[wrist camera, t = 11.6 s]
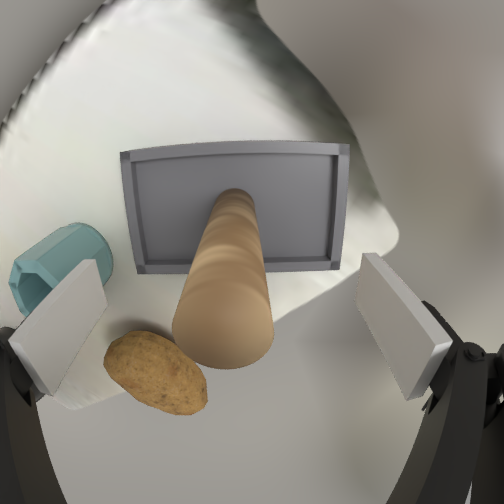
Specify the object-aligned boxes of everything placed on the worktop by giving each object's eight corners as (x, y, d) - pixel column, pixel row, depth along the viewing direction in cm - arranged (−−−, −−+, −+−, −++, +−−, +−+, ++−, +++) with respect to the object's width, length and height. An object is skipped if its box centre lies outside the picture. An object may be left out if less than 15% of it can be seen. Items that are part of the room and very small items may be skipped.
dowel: (215, 227, 26) (181, 368, 10) (213, 188, 24) (163, 292, 9) (254, 226, 26) (272, 367, 10) (254, 187, 24) (275, 290, 9)
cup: (67, 286, 29) (28, 330, 21) (50, 225, 26) (0, 259, 17) (120, 287, 30) (85, 340, 21) (105, 220, 26) (55, 258, 18)
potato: (184, 390, 37) (176, 434, 30) (107, 336, 33) (85, 378, 25) (229, 364, 35) (227, 412, 27) (144, 298, 30) (121, 344, 23)
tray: (144, 263, 28) (137, 274, 26) (130, 150, 23) (119, 152, 21) (332, 259, 29) (339, 269, 26) (340, 143, 24) (349, 144, 22)
